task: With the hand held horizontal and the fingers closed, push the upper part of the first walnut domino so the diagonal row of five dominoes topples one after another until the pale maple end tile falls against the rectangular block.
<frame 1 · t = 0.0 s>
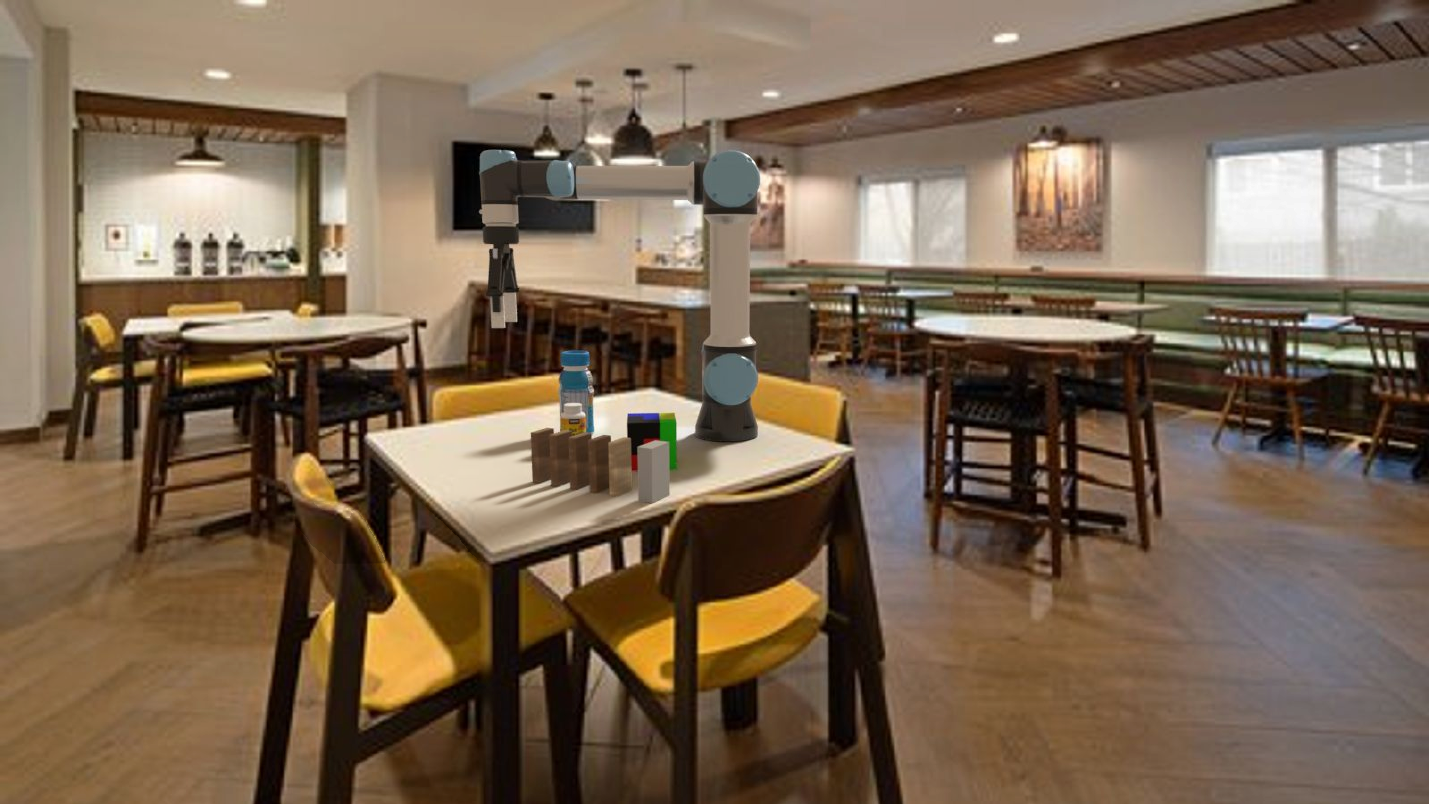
hand: (504, 324, 192), 28 cm above the table, tool pointing down, fingers open, 13 cm apart
beverage bottle: (577, 435, 212), on the table
puzzle toy: (652, 465, 184), on the table
domino 2: (562, 483, 170), on the table
domino 5: (620, 492, 164), on the table
domino 1: (544, 480, 172), on the table
supplement bottle: (574, 449, 198), on the table
rectangular block: (654, 497, 160), on the table
domino 3: (581, 486, 168), on the table
domino 4: (600, 489, 166), on the table
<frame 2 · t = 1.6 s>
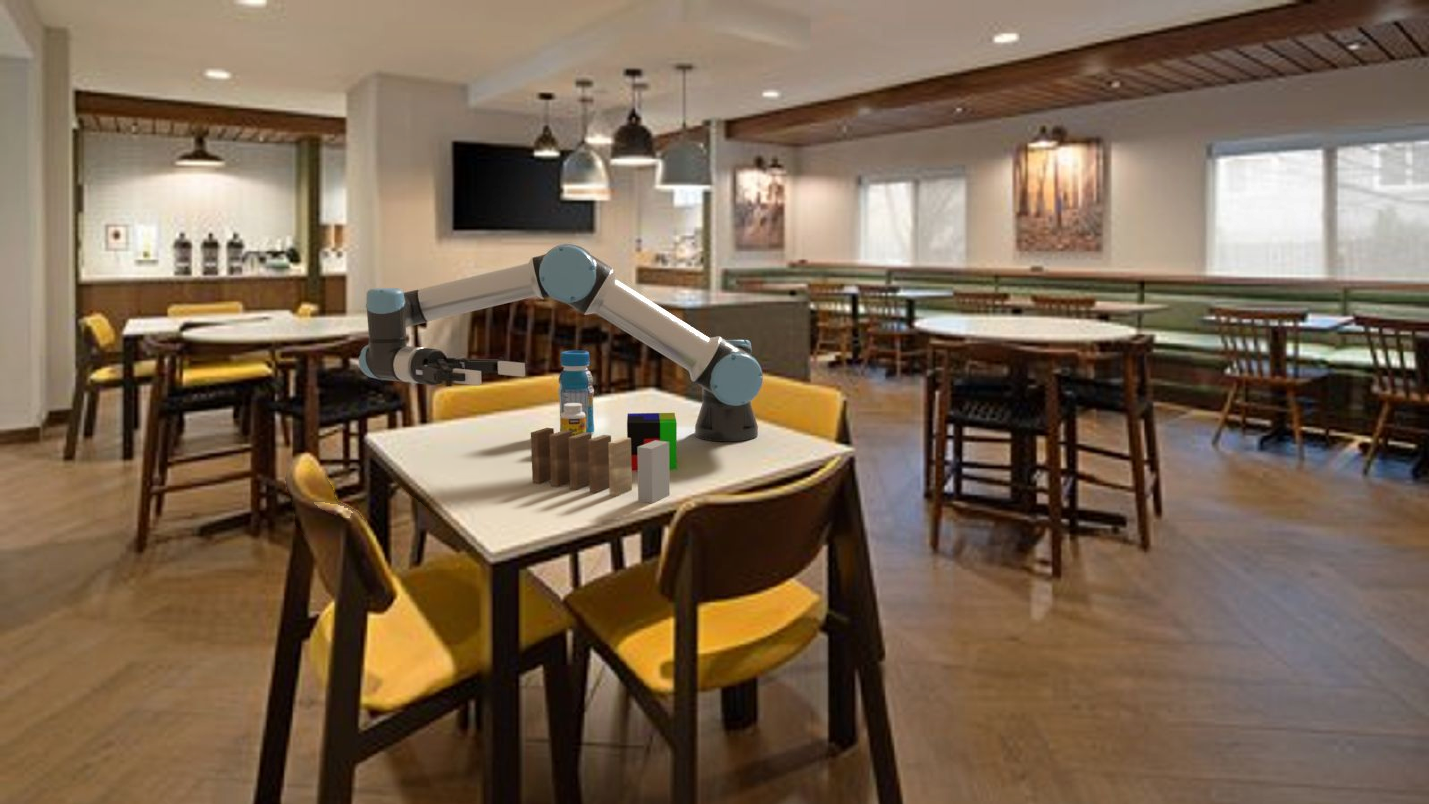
hand: (502, 373, 172), 20 cm above the table, tool horizontal, fingers open, 12 cm apart
nothing on the table moved.
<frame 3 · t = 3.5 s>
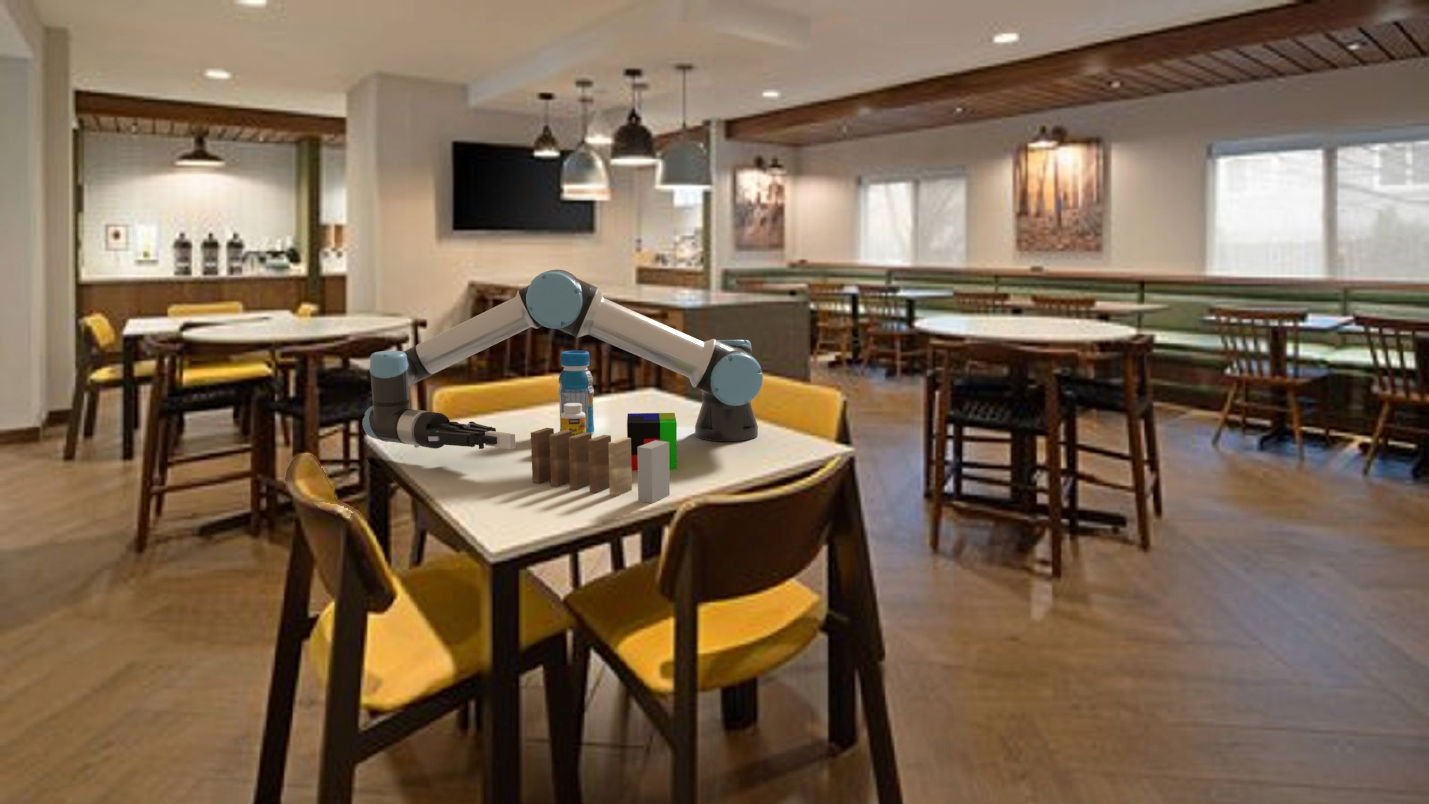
hand: (512, 441, 174), 7 cm above the table, tool horizontal, fingers closed
nothing on the table moved.
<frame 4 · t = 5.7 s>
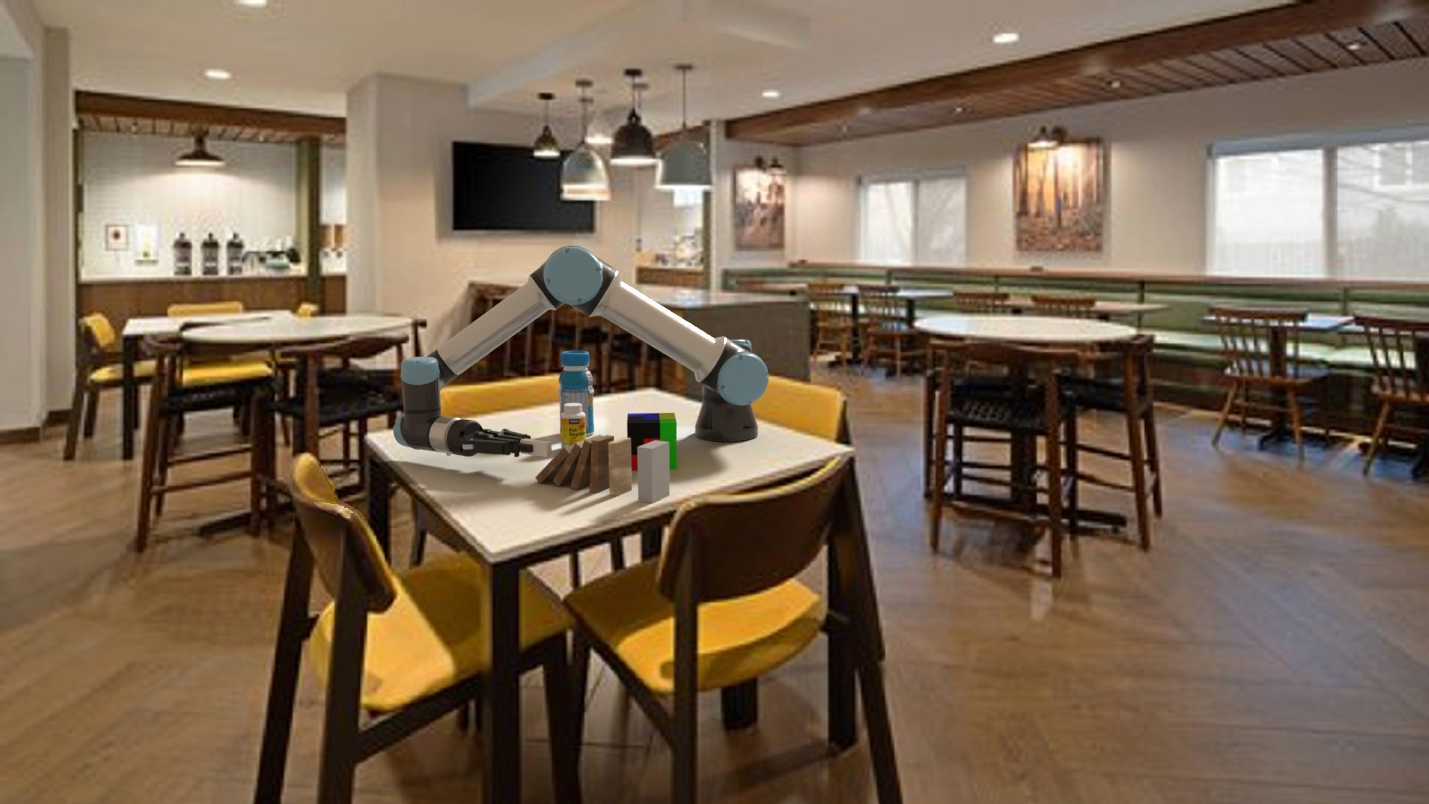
hand: (549, 449, 170), 6 cm above the table, tool horizontal, fingers closed
domino 2: (563, 481, 170), on the table, tilted 35°
domino 1: (545, 477, 172), point 1 cm above the table, tilted 47°
domino 3: (581, 484, 168), on the table, tilted 20°
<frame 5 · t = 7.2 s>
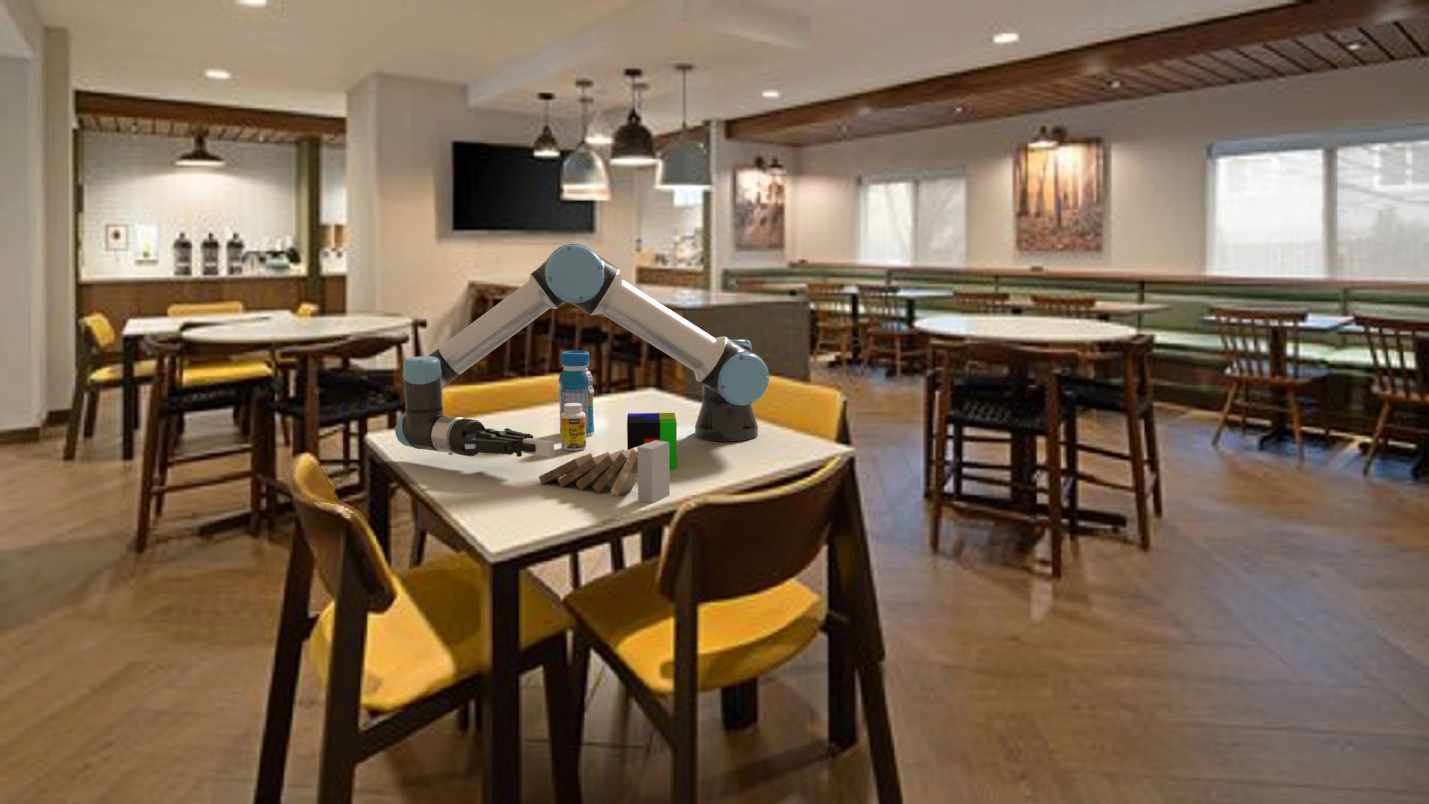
hand: (551, 449, 170), 6 cm above the table, tool horizontal, fingers closed
domino 2: (567, 480, 169), point 1 cm above the table, tilted 57°, touching domino 1, domino 3
domino 5: (621, 490, 163), on the table, tilted 30°, touching rectangular block, domino 4
domino 1: (548, 477, 171), point 1 cm above the table, tilted 62°, touching domino 2
domino 3: (586, 483, 167), point 1 cm above the table, tilted 50°, touching domino 2, domino 4
domino 4: (602, 487, 165), point 1 cm above the table, tilted 42°, touching domino 3, domino 5
everything else where it was.
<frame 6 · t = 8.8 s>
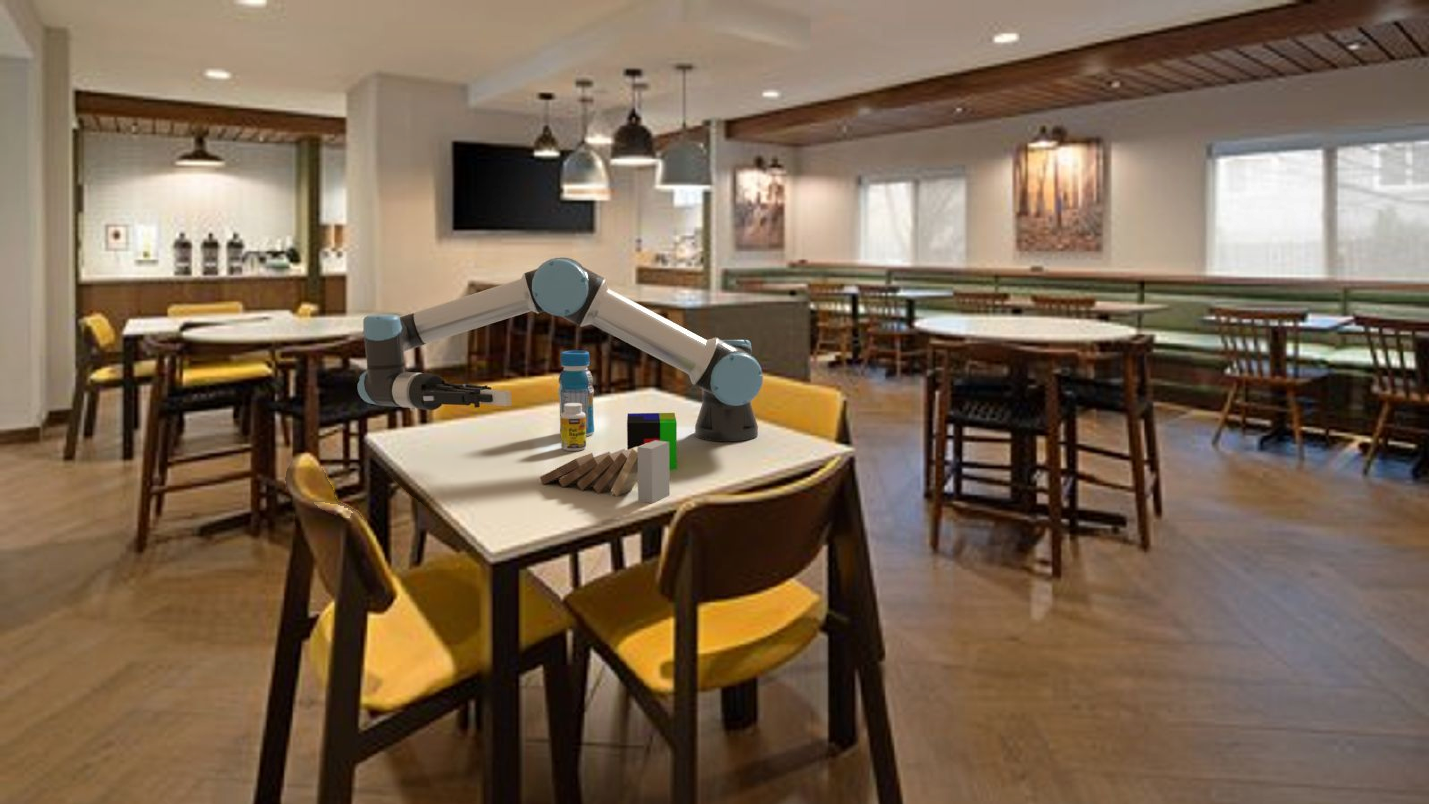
hand: (508, 398, 172), 16 cm above the table, tool horizontal, fingers closed
nothing on the table moved.
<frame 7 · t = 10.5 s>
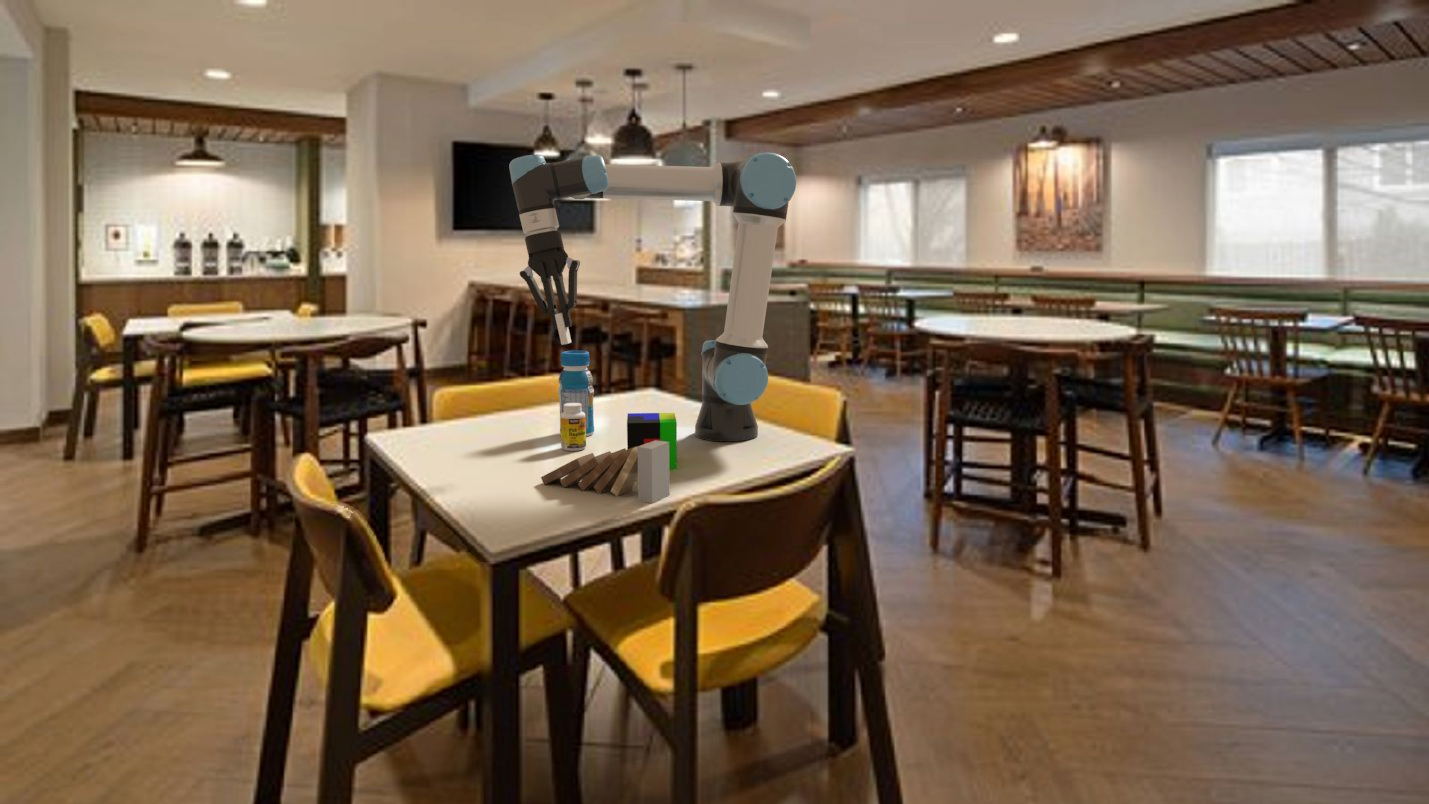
hand: (566, 343, 186), 25 cm above the table, tool pointing down, fingers closed
nothing on the table moved.
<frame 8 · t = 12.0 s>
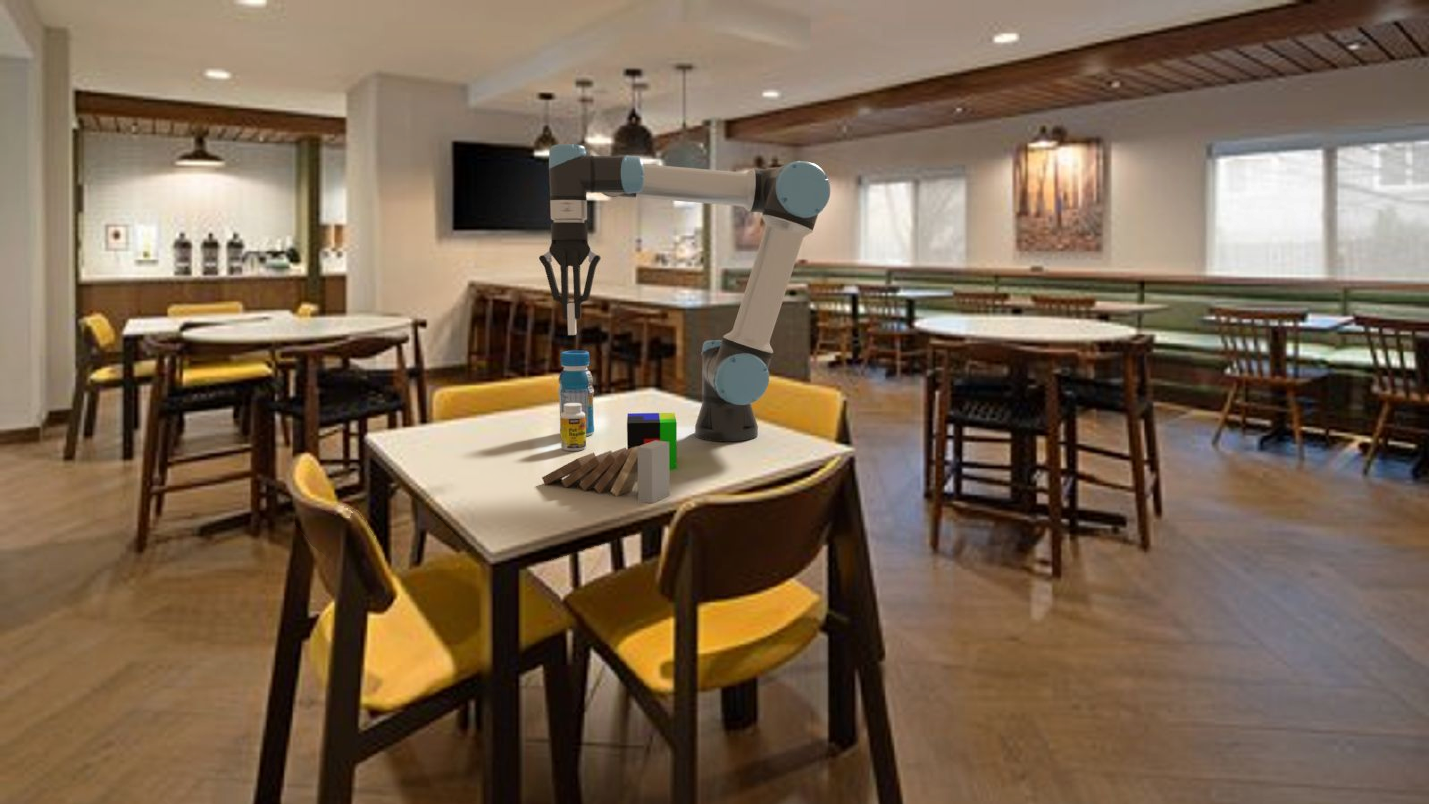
hand: (572, 334, 188), 26 cm above the table, tool pointing down, fingers closed
nothing on the table moved.
at the end: domino 5 tilted 30°; domino 1 tilted 61°; the gripper is holding nothing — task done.
